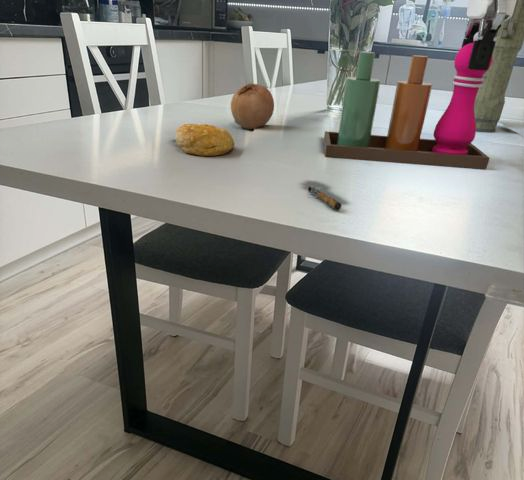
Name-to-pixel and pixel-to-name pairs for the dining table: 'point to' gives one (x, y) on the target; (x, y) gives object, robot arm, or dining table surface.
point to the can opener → (325, 198)
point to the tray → (404, 153)
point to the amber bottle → (409, 108)
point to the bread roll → (204, 139)
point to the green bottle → (359, 104)
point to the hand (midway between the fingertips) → (472, 66)
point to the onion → (252, 106)
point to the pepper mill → (460, 107)
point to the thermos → (499, 71)
